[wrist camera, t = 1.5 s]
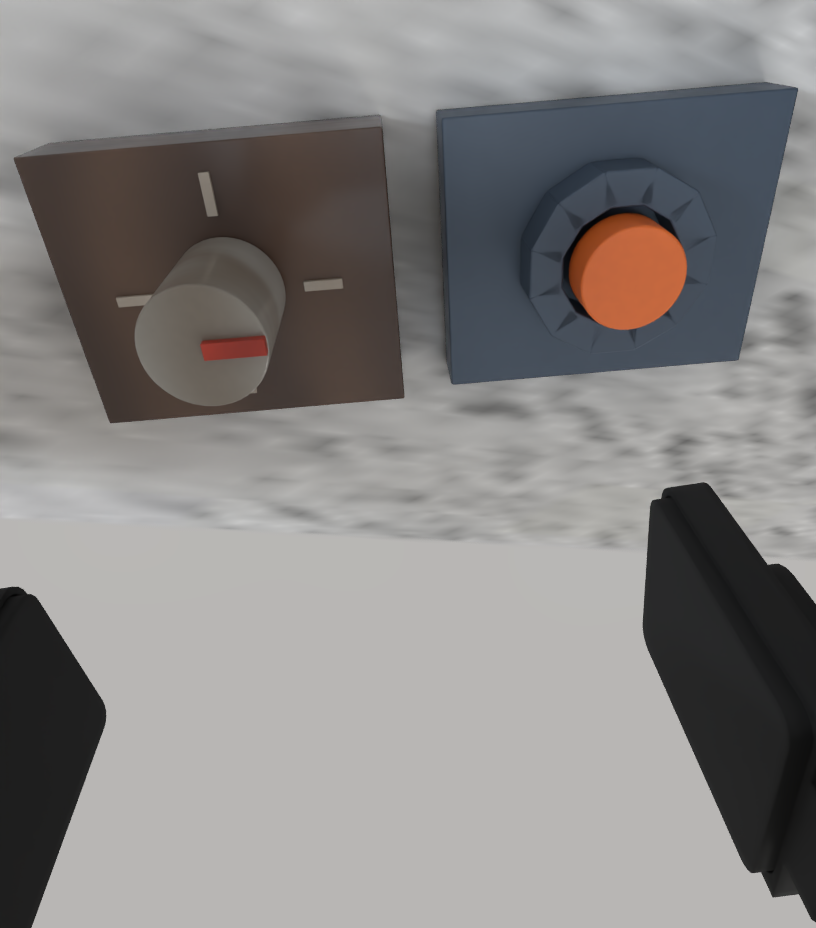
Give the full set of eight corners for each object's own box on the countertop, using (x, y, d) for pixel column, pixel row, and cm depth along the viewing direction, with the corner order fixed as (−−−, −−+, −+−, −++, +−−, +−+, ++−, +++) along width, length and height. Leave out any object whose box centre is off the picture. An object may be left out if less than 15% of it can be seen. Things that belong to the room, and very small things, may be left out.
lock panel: (130, 389, 30) (108, 425, 27) (48, 142, 24) (10, 158, 22) (401, 366, 30) (404, 400, 27) (380, 114, 24) (382, 127, 22)
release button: (564, 316, 25) (577, 335, 24) (571, 216, 23) (584, 230, 22) (661, 308, 25) (679, 326, 24) (675, 207, 23) (696, 220, 22)
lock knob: (189, 347, 26) (152, 417, 21) (160, 241, 24) (112, 294, 19) (294, 338, 26) (278, 405, 21) (275, 231, 24) (253, 282, 19)
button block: (446, 362, 30) (456, 406, 27) (436, 110, 24) (446, 125, 21) (716, 339, 30) (759, 380, 27) (767, 81, 24) (830, 92, 21)
